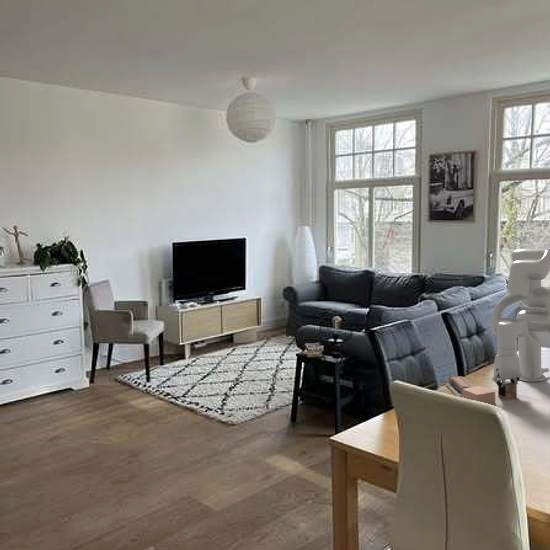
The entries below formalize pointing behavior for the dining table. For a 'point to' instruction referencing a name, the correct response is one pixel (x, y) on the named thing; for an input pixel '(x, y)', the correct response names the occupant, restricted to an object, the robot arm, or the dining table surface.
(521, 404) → the dining table surface
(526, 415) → the dining table surface
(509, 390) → the walnut block
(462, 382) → the packaged product
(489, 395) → the base block
